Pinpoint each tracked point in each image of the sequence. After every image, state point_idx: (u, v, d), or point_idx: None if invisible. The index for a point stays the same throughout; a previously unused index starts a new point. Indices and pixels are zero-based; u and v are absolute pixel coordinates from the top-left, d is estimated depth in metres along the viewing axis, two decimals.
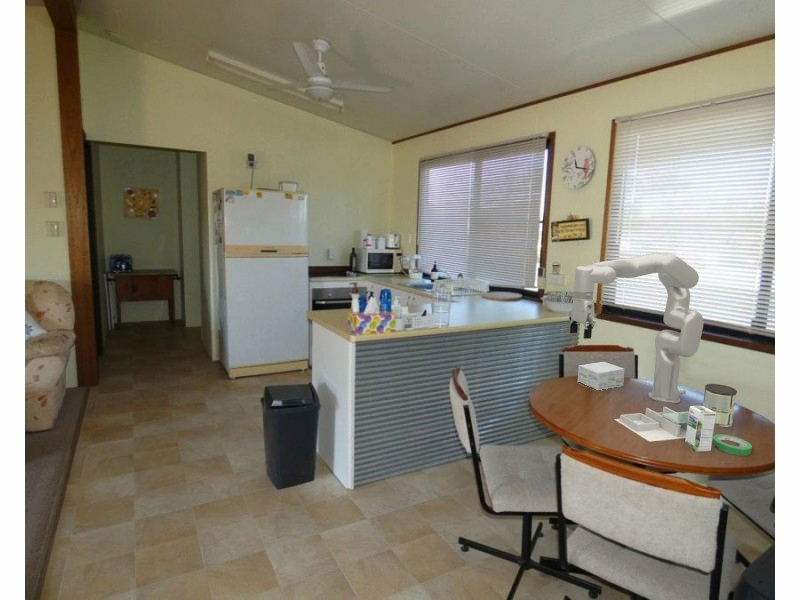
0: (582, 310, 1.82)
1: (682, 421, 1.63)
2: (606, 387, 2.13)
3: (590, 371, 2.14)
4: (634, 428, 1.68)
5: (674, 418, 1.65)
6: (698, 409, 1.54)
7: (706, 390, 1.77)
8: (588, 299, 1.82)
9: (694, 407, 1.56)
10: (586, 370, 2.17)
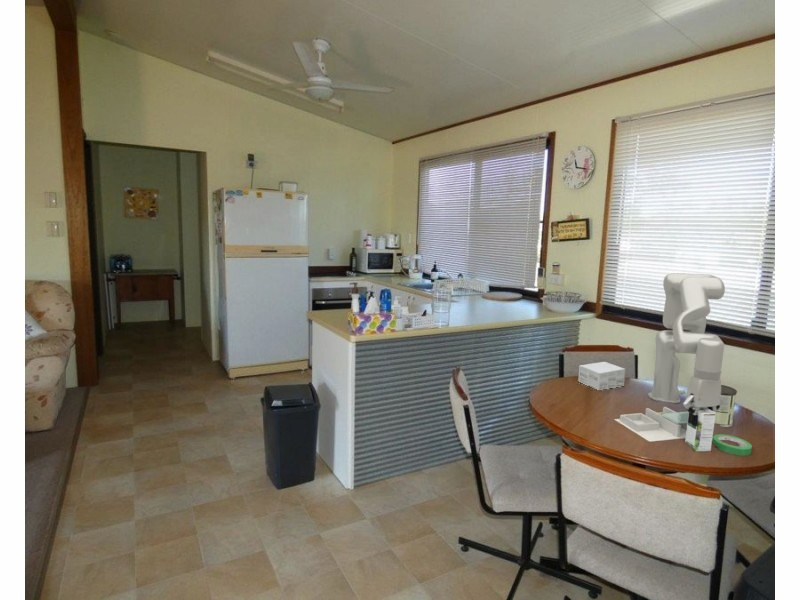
0: (718, 391, 1.52)
1: (682, 421, 1.63)
2: (606, 387, 2.13)
3: (591, 371, 2.14)
4: (634, 428, 1.68)
5: (674, 418, 1.65)
6: None
7: None
8: None
9: (694, 407, 1.56)
10: (586, 370, 2.17)
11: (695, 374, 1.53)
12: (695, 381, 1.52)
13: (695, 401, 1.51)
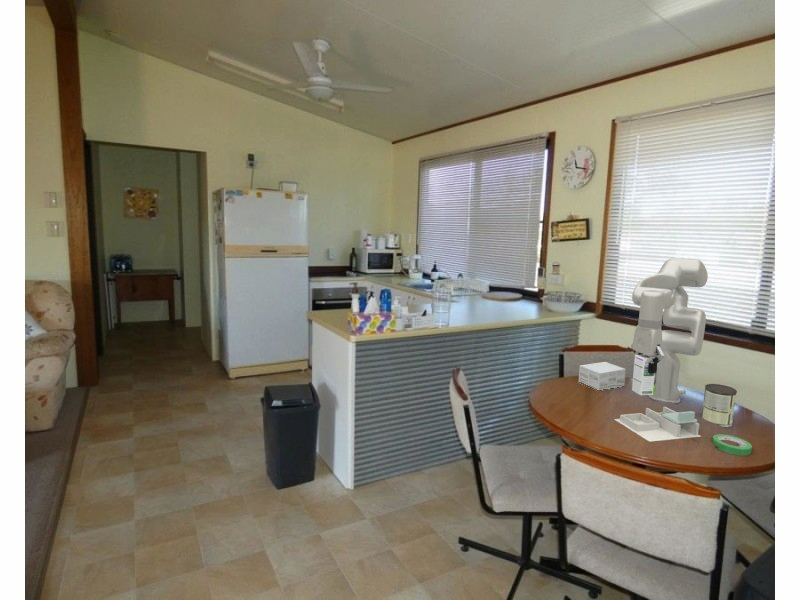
0: None
1: (682, 421, 1.63)
2: (607, 387, 2.13)
3: (591, 371, 2.14)
4: (634, 428, 1.68)
5: (674, 418, 1.65)
6: None
7: (706, 390, 1.77)
8: None
9: (646, 357, 1.66)
10: (586, 370, 2.17)
11: (654, 326, 1.62)
12: (659, 332, 1.61)
13: None
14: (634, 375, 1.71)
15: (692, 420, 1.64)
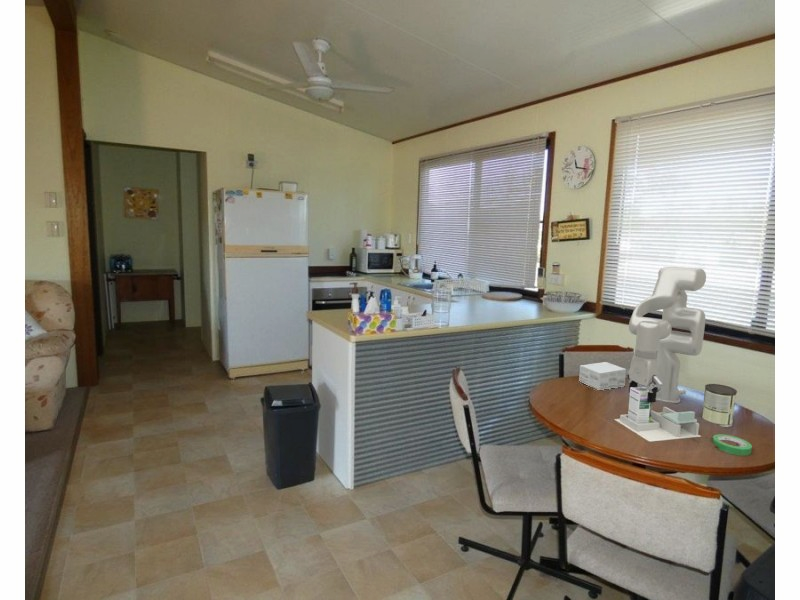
0: None
1: (682, 421, 1.63)
2: (607, 387, 2.12)
3: (591, 371, 2.14)
4: (634, 428, 1.68)
5: (674, 418, 1.65)
6: (646, 390, 1.68)
7: (706, 390, 1.77)
8: None
9: (641, 390, 1.68)
10: (587, 370, 2.17)
11: (650, 357, 1.64)
12: (655, 363, 1.63)
13: None
14: (630, 407, 1.73)
15: (692, 420, 1.64)
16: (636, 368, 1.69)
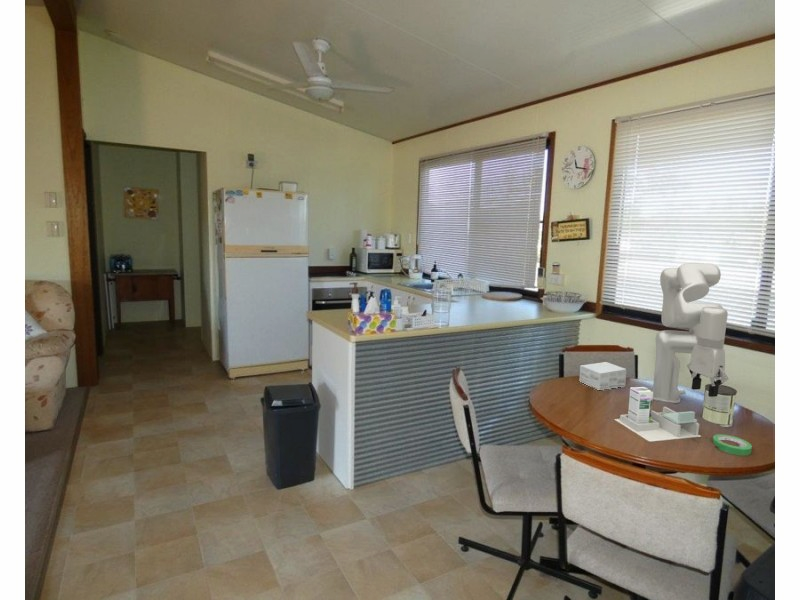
0: None
1: (682, 421, 1.63)
2: (607, 387, 2.12)
3: (591, 371, 2.14)
4: (634, 428, 1.68)
5: (674, 418, 1.65)
6: (646, 390, 1.68)
7: (706, 390, 1.77)
8: None
9: (641, 390, 1.68)
10: (587, 371, 2.17)
11: (716, 346, 1.49)
12: (721, 353, 1.49)
13: (723, 371, 1.50)
14: (630, 407, 1.73)
15: (692, 420, 1.64)
16: (699, 358, 1.54)
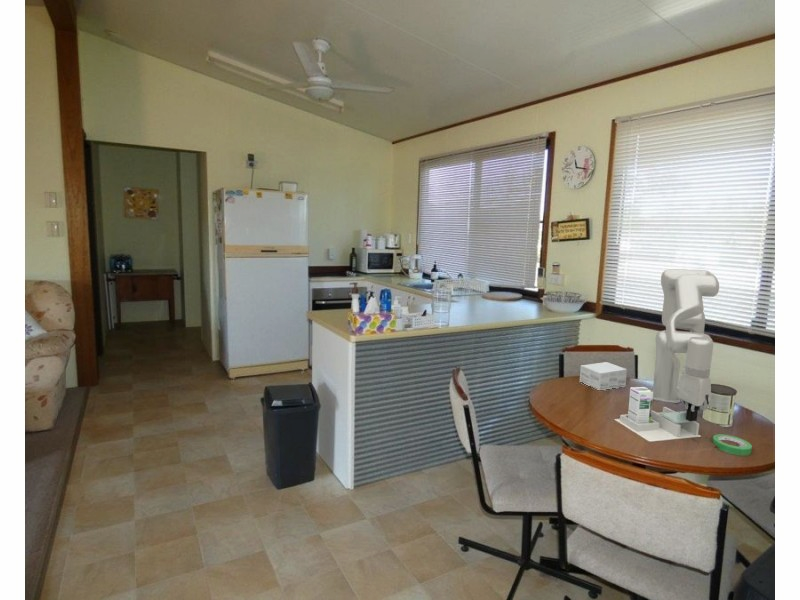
0: None
1: (681, 420, 1.63)
2: (608, 387, 2.12)
3: (592, 371, 2.14)
4: (634, 428, 1.68)
5: (673, 417, 1.65)
6: (646, 390, 1.68)
7: None
8: None
9: (641, 390, 1.68)
10: (587, 371, 2.17)
11: (703, 375, 1.55)
12: (707, 382, 1.55)
13: (709, 400, 1.56)
14: (630, 407, 1.73)
15: None
16: (686, 386, 1.60)
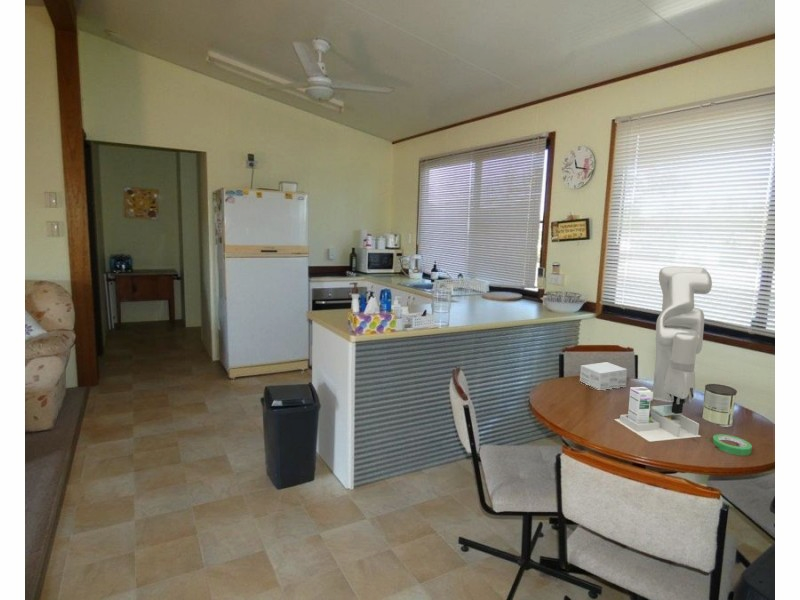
0: None
1: (667, 413, 1.69)
2: (608, 387, 2.12)
3: (592, 371, 2.14)
4: (634, 428, 1.68)
5: (660, 411, 1.72)
6: (646, 390, 1.68)
7: (706, 390, 1.77)
8: None
9: (641, 390, 1.68)
10: (587, 371, 2.17)
11: (687, 369, 1.61)
12: (692, 376, 1.61)
13: (694, 393, 1.62)
14: (630, 407, 1.73)
15: None
16: (672, 380, 1.66)
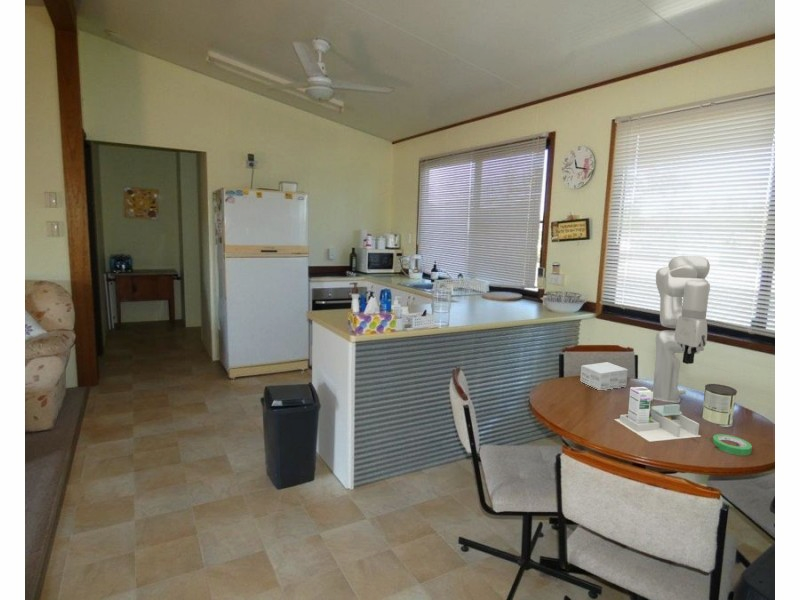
0: None
1: (667, 413, 1.69)
2: (608, 387, 2.12)
3: (592, 371, 2.14)
4: (634, 428, 1.68)
5: (660, 411, 1.72)
6: (646, 390, 1.68)
7: (706, 390, 1.77)
8: None
9: (641, 390, 1.68)
10: (588, 371, 2.17)
11: (699, 317, 1.58)
12: (704, 323, 1.58)
13: None
14: (630, 407, 1.73)
15: (677, 412, 1.70)
16: (683, 329, 1.63)
